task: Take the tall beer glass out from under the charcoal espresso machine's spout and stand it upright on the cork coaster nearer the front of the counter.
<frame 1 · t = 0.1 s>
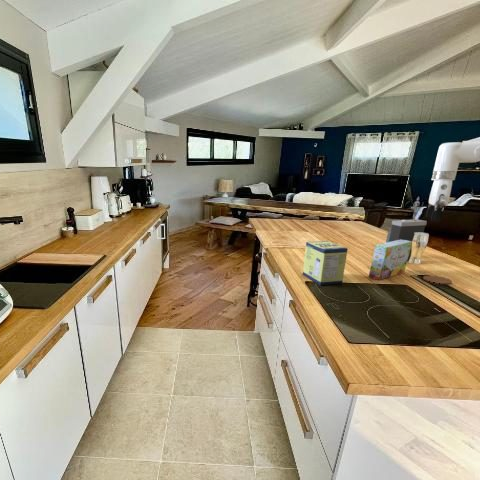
hand: (432, 219, 132), 25 cm above the table, tool pointing down, fingers open, 9 cm apart
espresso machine: (408, 260, 164), on the table
protein box: (321, 279, 139), on the table
coaster: (436, 280, 135), on the table
snack box: (387, 275, 143), on the table
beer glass: (413, 262, 161), on the table
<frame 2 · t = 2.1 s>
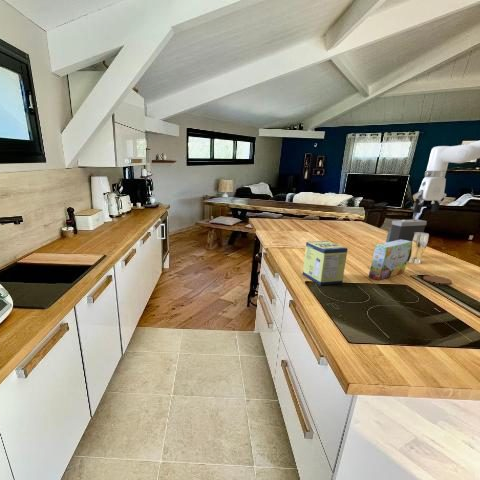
hand: (425, 212, 152), 25 cm above the table, tool pointing down, fingers open, 9 cm apart
nothing on the table moved.
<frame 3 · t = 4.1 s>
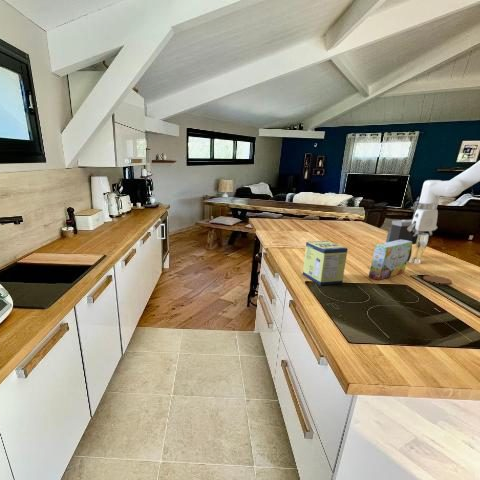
hand: (418, 243, 157), 10 cm above the table, tool pointing down, fingers closed on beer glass, 7 cm apart
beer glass: (413, 262, 161), on the table, touching gripper
everything else where it was.
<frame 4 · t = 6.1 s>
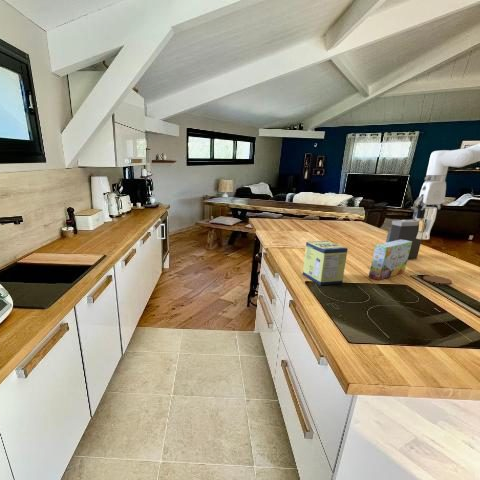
hand: (426, 217, 152), 23 cm above the table, tool pointing down, fingers closed on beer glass, 7 cm apart
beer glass: (421, 238, 155), point 13 cm above the table, touching gripper
everything else where it was.
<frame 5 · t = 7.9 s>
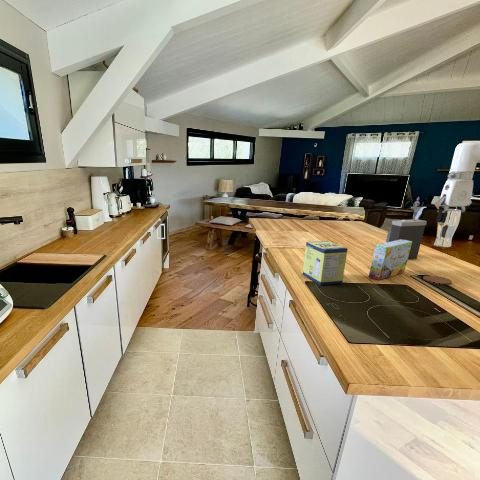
hand: (448, 221, 130), 25 cm above the table, tool pointing down, fingers closed on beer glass, 7 cm apart
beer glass: (441, 246, 134), point 14 cm above the table, touching gripper
everything else where it was.
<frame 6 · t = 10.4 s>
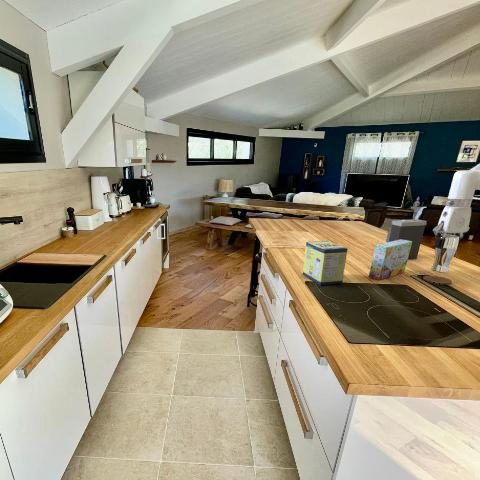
hand: (446, 247, 130), 15 cm above the table, tool pointing down, fingers closed on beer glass, 7 cm apart
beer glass: (439, 271, 133), point 4 cm above the table, touching gripper
everything else where it was.
when the fingers open (11 cm above the table, at t = 12.0 s): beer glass stays where it is, resting on coaster.
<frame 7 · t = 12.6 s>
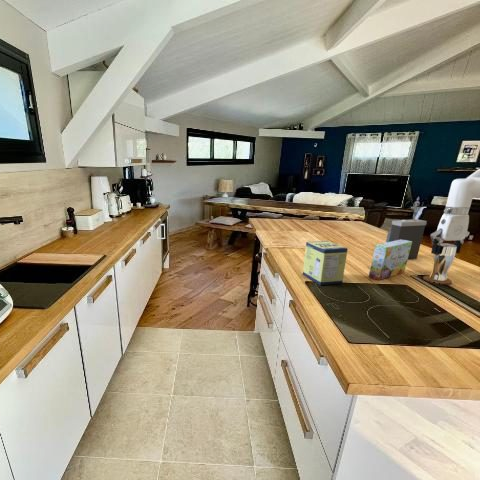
hand: (444, 253, 130), 12 cm above the table, tool pointing down, fingers open, 9 cm apart
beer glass: (437, 279, 135), resting on coaster
everything else where it was.
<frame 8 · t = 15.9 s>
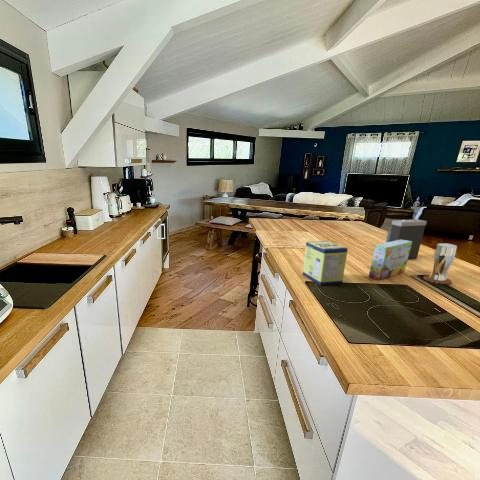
nothing on the table moved.
at the end: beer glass 0.1 cm off-centre on the coaster, point 0.4 cm above the coaster's base; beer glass tilted 0°; the gripper is holding nothing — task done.
